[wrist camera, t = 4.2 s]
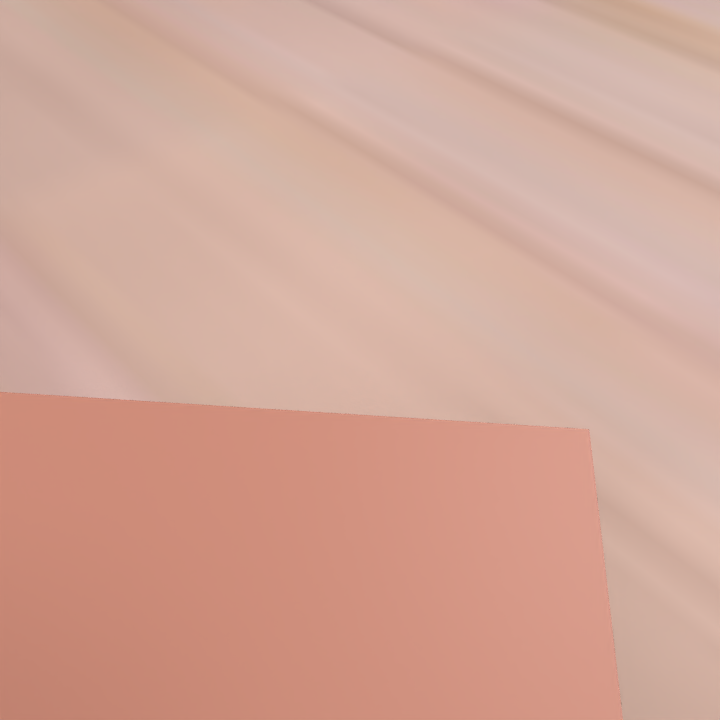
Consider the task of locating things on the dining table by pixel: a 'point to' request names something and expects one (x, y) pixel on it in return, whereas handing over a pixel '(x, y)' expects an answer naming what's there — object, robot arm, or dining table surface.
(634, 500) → the dining table surface
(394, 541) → the salmon-pink block
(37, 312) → the dining table surface
